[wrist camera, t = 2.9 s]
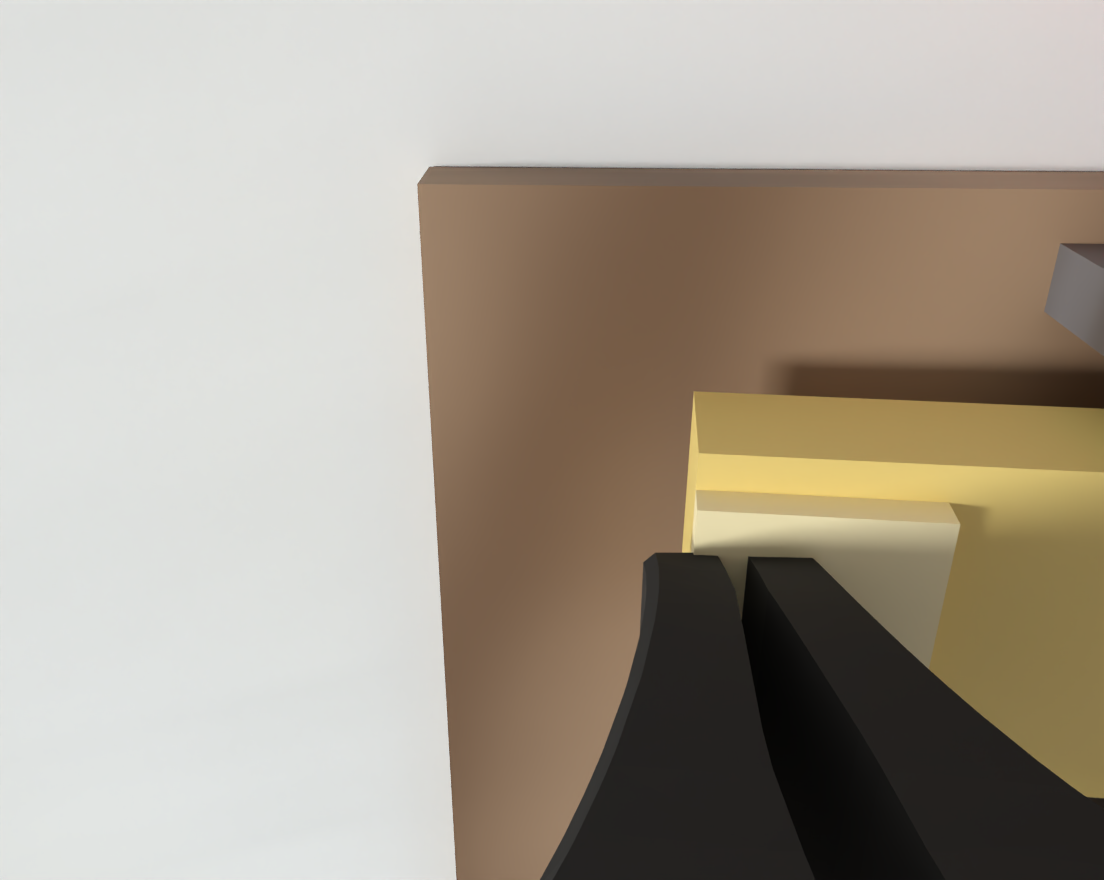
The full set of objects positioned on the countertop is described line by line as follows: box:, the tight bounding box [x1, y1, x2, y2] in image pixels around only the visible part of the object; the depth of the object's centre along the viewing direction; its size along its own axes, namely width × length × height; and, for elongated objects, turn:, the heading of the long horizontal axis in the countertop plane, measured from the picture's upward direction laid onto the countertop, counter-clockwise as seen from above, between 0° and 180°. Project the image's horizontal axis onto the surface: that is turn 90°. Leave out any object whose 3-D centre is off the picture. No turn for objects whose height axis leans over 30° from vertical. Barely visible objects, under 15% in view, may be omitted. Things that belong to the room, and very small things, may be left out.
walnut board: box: [417, 167, 1104, 880], centre depth 13 cm, size 16×14×4 cm
